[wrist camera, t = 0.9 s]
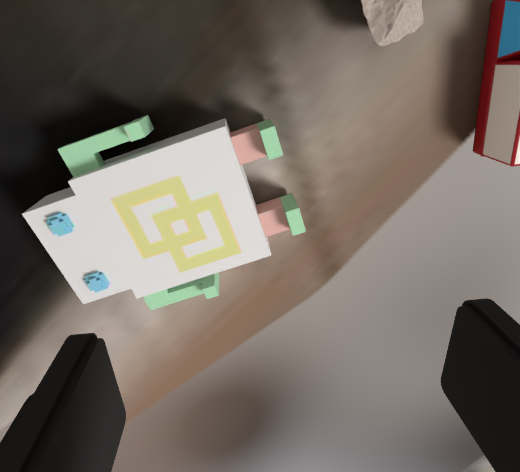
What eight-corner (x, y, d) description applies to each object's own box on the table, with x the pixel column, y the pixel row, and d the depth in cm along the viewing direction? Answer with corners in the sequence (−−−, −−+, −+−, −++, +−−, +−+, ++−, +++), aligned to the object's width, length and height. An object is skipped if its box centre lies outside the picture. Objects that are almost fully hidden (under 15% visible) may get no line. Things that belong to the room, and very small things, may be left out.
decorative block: (100, 336, 41) (-11, 175, 32) (116, 302, 47) (25, 158, 38) (317, 267, 39) (260, 77, 31) (305, 241, 45) (255, 75, 36)
